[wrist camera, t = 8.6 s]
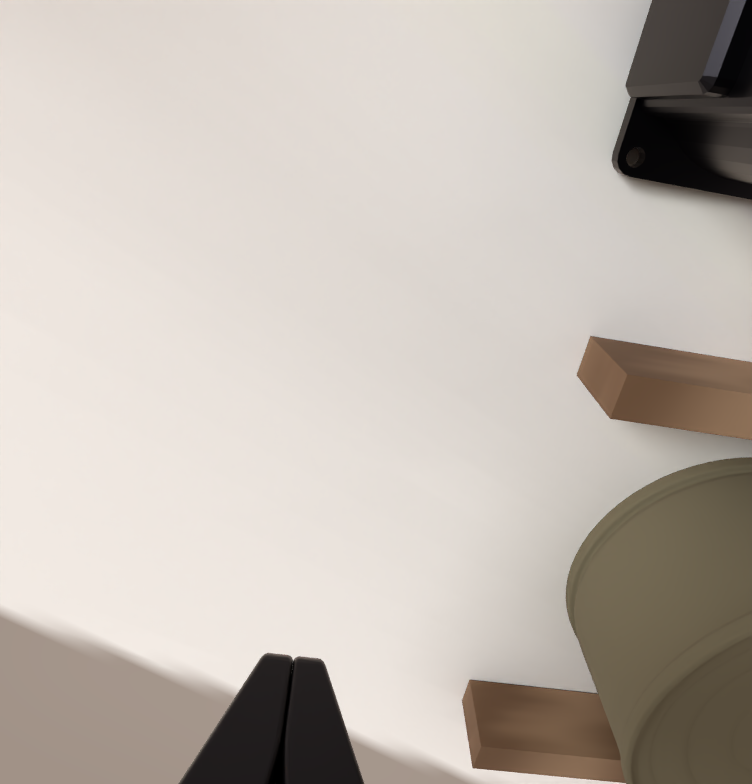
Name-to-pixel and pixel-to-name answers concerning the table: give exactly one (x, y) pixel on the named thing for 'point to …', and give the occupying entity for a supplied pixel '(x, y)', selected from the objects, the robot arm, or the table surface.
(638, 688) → the can
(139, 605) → the table surface
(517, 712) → the pocket
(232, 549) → the table surface
